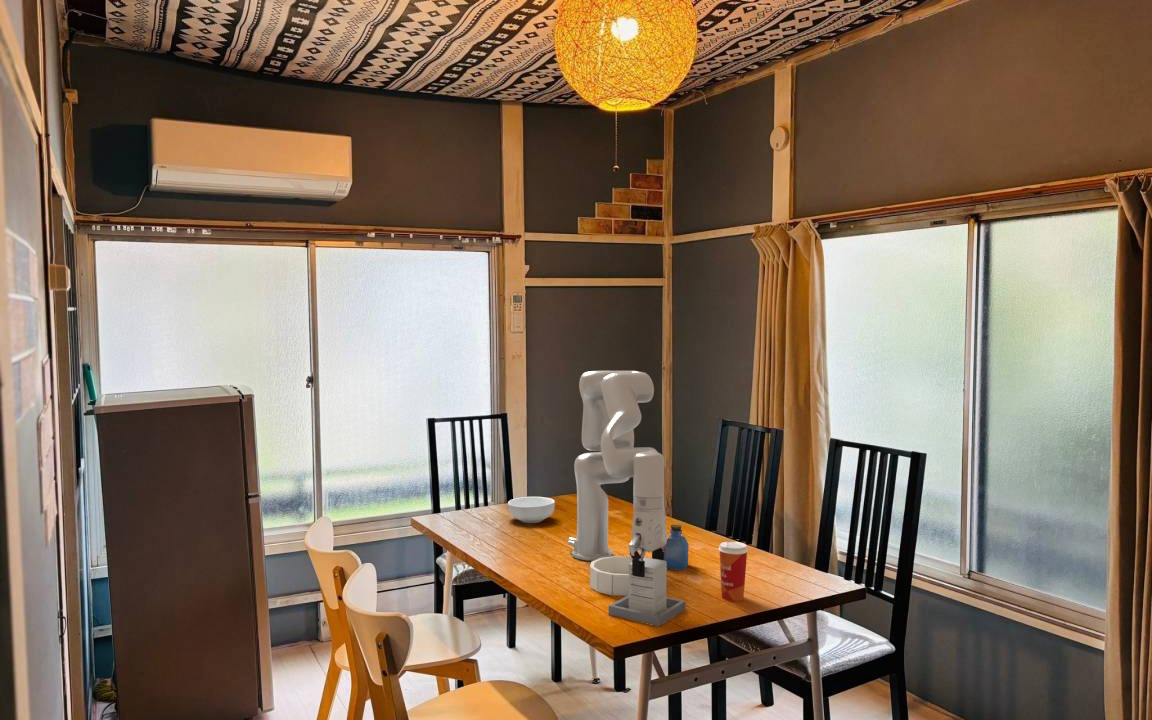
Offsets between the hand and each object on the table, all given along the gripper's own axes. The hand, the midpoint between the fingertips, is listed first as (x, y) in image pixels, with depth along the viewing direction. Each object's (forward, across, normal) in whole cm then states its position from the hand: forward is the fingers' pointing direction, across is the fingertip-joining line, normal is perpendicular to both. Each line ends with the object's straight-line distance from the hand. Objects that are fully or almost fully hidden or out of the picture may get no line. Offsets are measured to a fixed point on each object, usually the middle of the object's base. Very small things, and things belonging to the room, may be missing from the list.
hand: (648, 571), depth 204 cm
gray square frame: (+10, 0, 0) cm, 10 cm away
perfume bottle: (+10, +38, +12) cm, 42 cm away
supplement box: (+11, 0, 0) cm, 11 cm away
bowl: (+10, +14, +16) cm, 24 cm away
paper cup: (+10, +22, -12) cm, 28 cm away
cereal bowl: (+9, +57, +80) cm, 99 cm away
